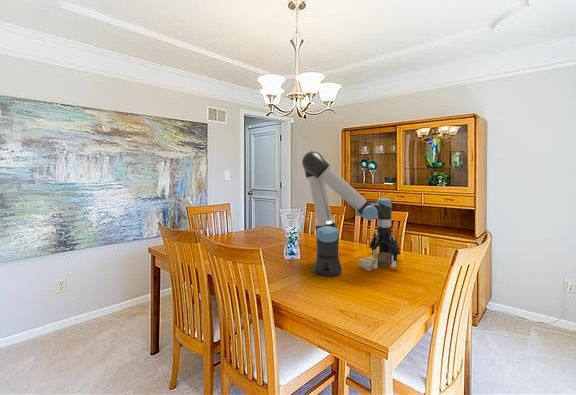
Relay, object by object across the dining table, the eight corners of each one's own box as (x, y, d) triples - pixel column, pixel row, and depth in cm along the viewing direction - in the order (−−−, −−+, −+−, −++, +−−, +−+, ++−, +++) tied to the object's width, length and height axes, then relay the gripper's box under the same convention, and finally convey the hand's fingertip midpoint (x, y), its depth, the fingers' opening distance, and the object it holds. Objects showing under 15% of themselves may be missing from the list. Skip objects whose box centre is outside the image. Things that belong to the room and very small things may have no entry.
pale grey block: (368, 271, 173) (368, 262, 173) (359, 267, 179) (359, 259, 178) (377, 268, 177) (377, 259, 177) (367, 265, 183) (367, 257, 182)
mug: (375, 261, 190) (376, 241, 189) (382, 255, 203) (383, 236, 202) (394, 264, 185) (395, 243, 184) (400, 258, 197) (401, 238, 196)
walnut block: (383, 267, 178) (384, 255, 177) (377, 265, 182) (377, 253, 182) (390, 266, 181) (390, 254, 180) (383, 264, 185) (383, 252, 184)
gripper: (407, 228, 171) (407, 267, 173) (372, 222, 192) (372, 257, 194) (398, 230, 167) (397, 270, 169) (363, 224, 188) (363, 259, 190)
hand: (384, 263), depth 181 cm, fingers open, 13 cm apart
